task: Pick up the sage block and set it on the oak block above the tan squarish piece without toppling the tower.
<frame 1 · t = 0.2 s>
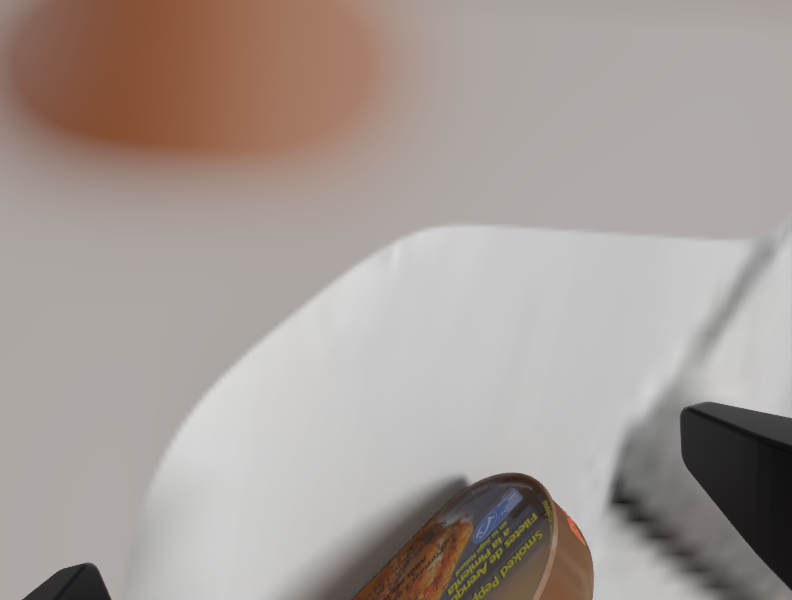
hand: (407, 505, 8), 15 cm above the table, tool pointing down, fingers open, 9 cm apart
tin: (408, 584, 24), on the table
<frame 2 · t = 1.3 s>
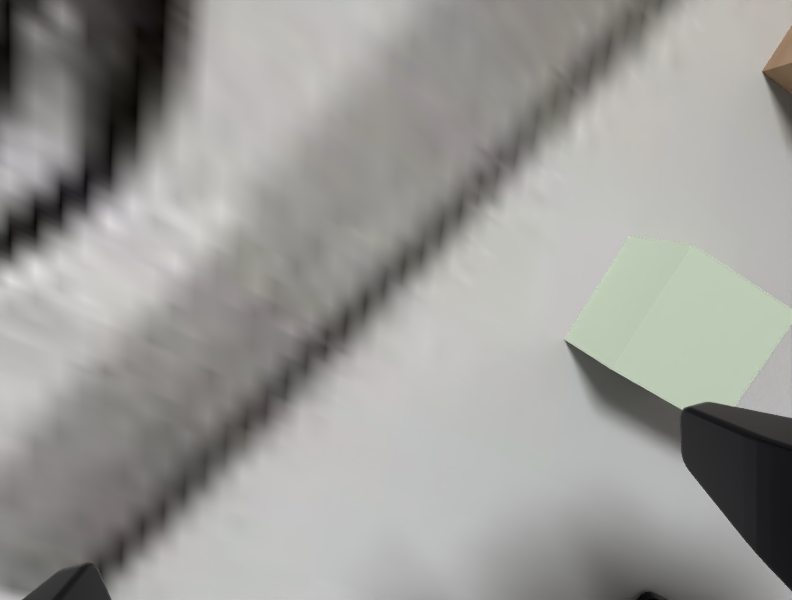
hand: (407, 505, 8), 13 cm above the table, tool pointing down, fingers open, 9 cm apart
sage block: (641, 315, 22), on the table
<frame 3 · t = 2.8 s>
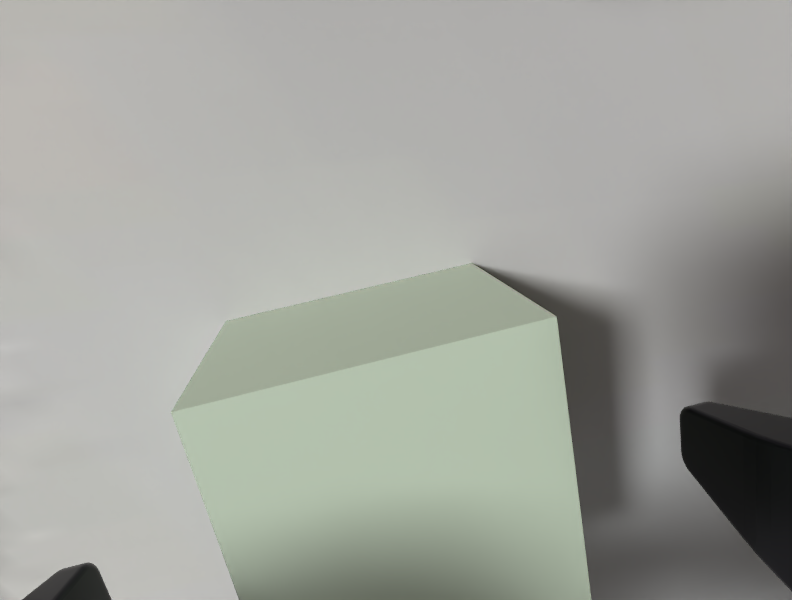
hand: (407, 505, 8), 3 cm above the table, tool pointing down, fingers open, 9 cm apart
sage block: (377, 400, 11), on the table
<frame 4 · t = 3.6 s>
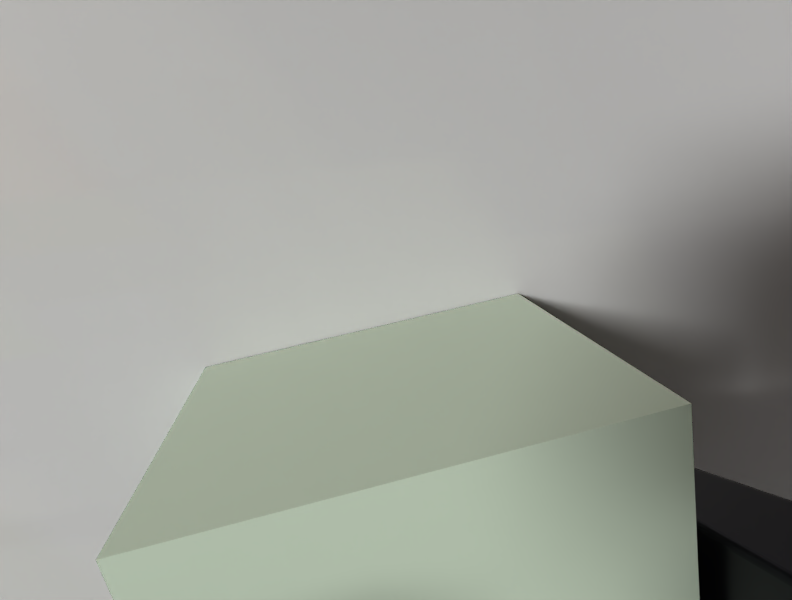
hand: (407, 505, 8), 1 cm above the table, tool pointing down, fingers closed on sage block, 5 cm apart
sage block: (397, 466, 9), on the table, touching gripper
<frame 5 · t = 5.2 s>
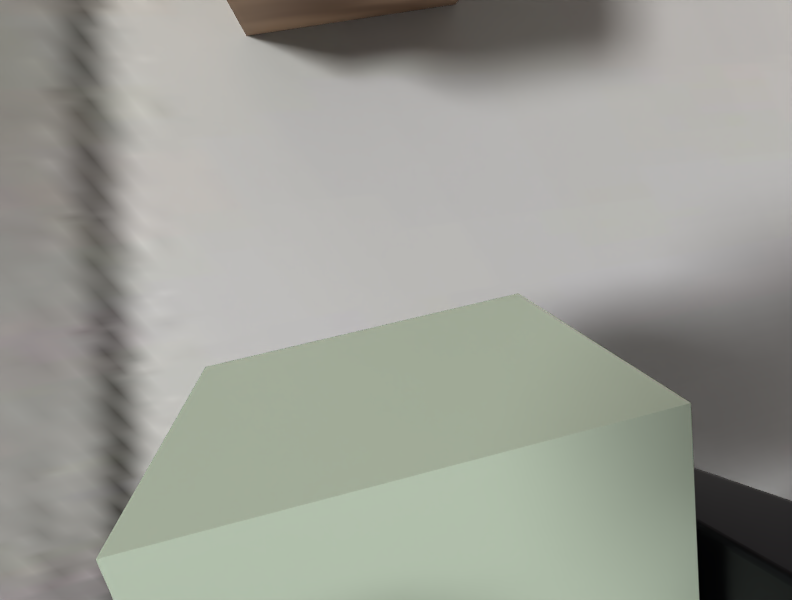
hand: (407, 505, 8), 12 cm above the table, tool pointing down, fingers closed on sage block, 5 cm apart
sage block: (396, 466, 9), point 11 cm above the table, touching gripper
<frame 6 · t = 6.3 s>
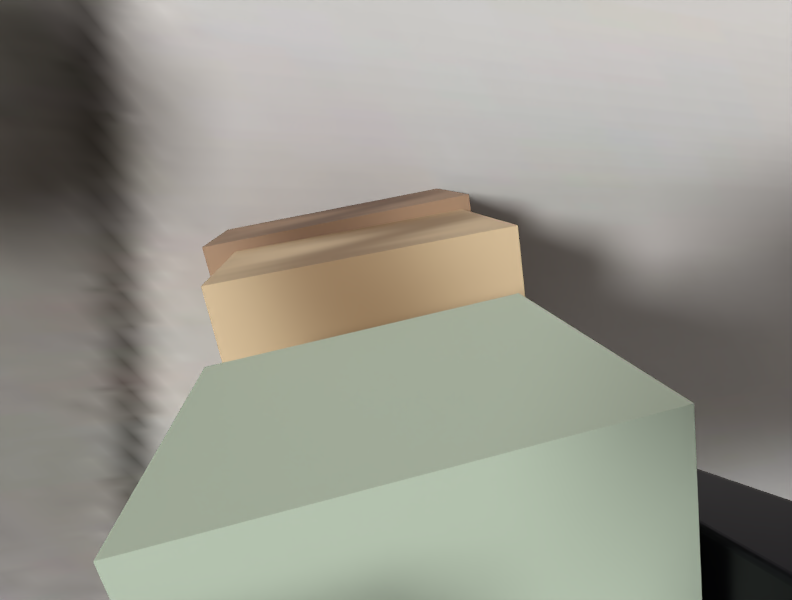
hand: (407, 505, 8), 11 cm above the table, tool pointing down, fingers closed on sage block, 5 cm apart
tan squarish piece: (355, 307, 18), on the table, touching oak block
oak block: (371, 336, 14), point 4 cm above the table, touching tan squarish piece
sage block: (397, 466, 9), point 10 cm above the table, touching gripper
when the fingers open (10 cm above the table, at t = 6.7 s): sage block drops 1 cm, resting on oak block.
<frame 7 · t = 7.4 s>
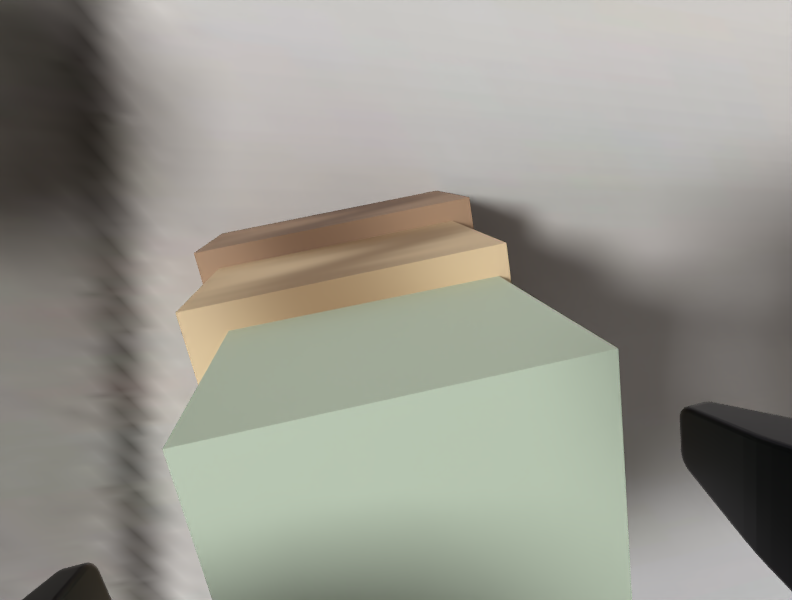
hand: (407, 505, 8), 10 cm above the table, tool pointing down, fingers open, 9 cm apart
tan squarish piece: (353, 312, 18), on the table, touching oak block
oak block: (361, 353, 14), point 4 cm above the table, touching sage block, tan squarish piece
sage block: (390, 424, 10), point 8 cm above the table, touching oak block
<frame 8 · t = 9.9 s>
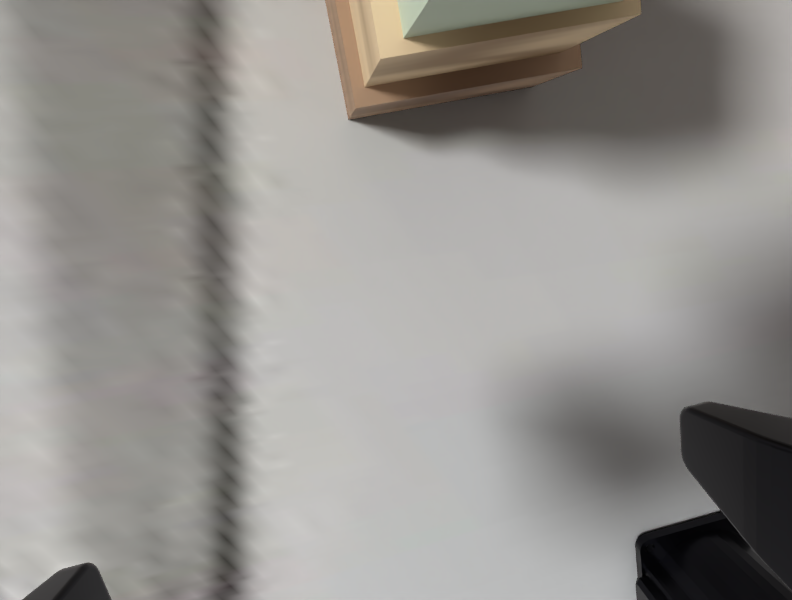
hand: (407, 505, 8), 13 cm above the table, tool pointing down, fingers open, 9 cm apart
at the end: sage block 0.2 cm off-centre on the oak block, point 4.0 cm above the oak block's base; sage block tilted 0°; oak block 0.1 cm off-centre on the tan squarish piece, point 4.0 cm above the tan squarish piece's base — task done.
